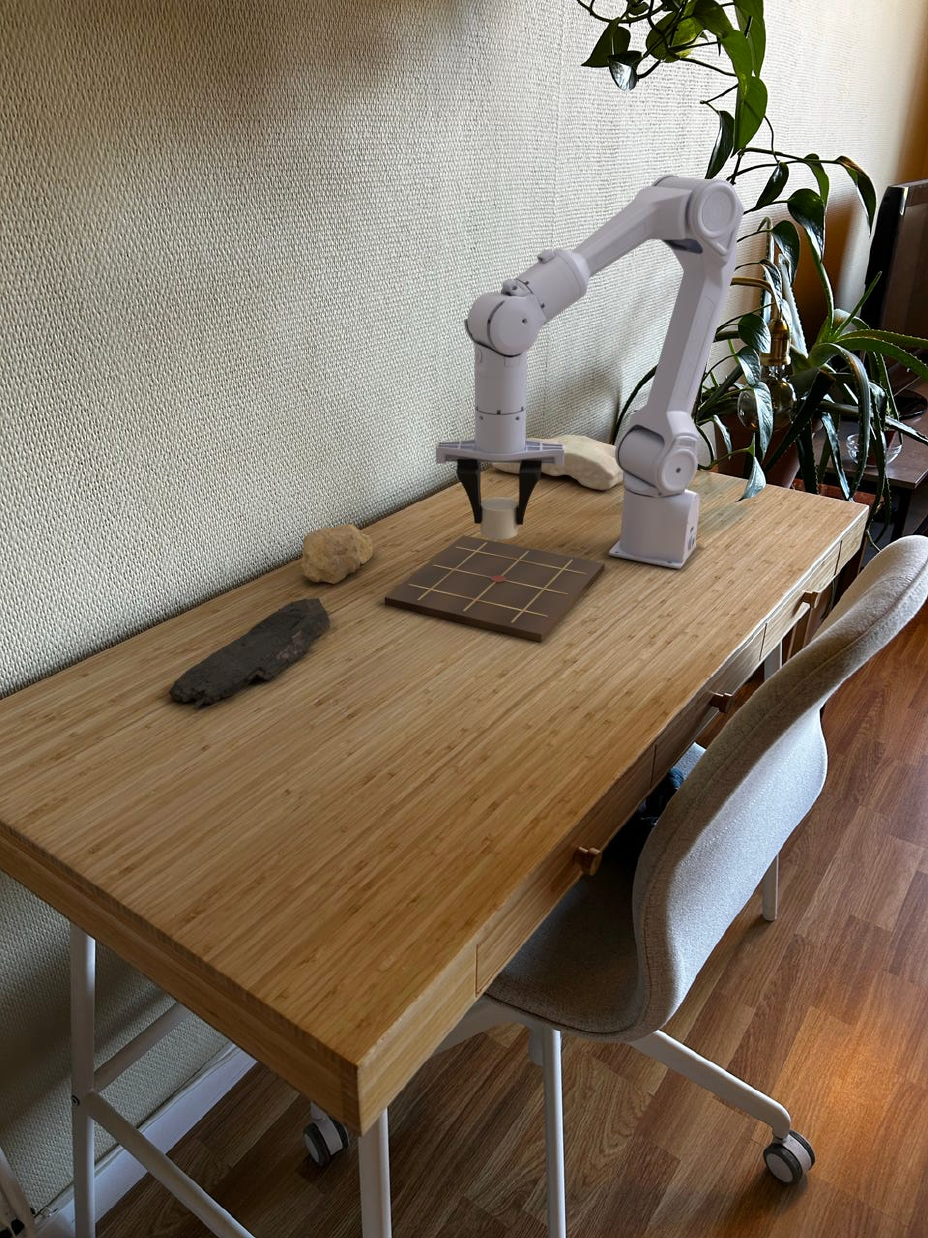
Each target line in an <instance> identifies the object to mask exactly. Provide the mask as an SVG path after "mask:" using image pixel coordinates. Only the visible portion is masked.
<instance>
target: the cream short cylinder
mask: <svg viewBox="0 0 928 1238" xmlns="http://www.w3.org/2000/svg"><path fill="white" fill-rule="evenodd" d="M518 505H519V501H517V500H516V499H513V498H510V497H507V496H506V497H505V496H493V497H488V498H485V499H483V500H481V524H480V534H481V535H482V536H483V537H485V538H487V539H491V540H509V539H511V538H514V537H515V536H517V534H518V532H519V525H517V514H518Z"/></svg>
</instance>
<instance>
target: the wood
mask: <svg viewBox="0 0 928 1238" xmlns="http://www.w3.org/2000/svg"><path fill="white" fill-rule="evenodd" d="M320 599H321V598H319V597H315V598H302V599H298V600H293V601H290V602H289V603H287V604H286V605H284V606H282V607H281V608H278V610H277V611H274V612H273V613H271V614H269V615H268V616H267V617H265V618H264V619H263V620H261V621H260V622H258V623H256V624H255V625H254V626H253V627H251V628H250V630H249V631H248V632H247V633H245V634H243V635H240V637H238V638H236V639H234V640H233V641H232V642H230V643H228V644H226V645H224V646H223V647H221V648H219V649H217V650H216V651H214V652H213V653H211V654H210V655H209V656H207V657H206V658H204V659H202V661H200V662H199V663H197V664H194V666H192V667H190V668H189V669H187V670H186V671H185V672H184V673H183V674H182V675H181V676H179V678H177V679H176V680H174V682H173V685H172V687H171V688H170V689H169V690H168V694H169V695H170V696H171V698H172V699H173V700H175V701H176V702H182V703H183V704H184V703H187V702H188V703H189V702H190V701H193V700H194V701H195V703H194V704H193V709H194V710H198V709H199V707H201V706H202V705H204V704H206V705H213V704H215V703H217V702H218V701H220V700H221V699H223V698H228V697H231V696H233V695H236V694H237V693H238V692H239V691H241V690H242V689H244V688H245V687H247V686H248V685H249V684H250V683H251V682H252V681H253V680H255V679H257V678H258V679H261V680H263V681H269V680H271V679H274V678H276V677H277V676H278V675H279V674H281V673H282V672H283V671H285V669H286V668H288V667H289V666H290V665H291V664H293V663H294V662H296V661H298V659H300V658H301V657H302V656H303V655H304V654H306V653H307V651H308V650H309V649H308V648H309V647H310V645H311V644H312V643H313V642H314V640H316V638H317V637H318V636H319V635H321V634H322V633H323V632H324V631H326V630H327V629H328V628H330V624H331V620H330V617H329V615H328V611H327V610H326V609H325V607H324V606H323V604H322V603H321V600H320Z"/></svg>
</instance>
